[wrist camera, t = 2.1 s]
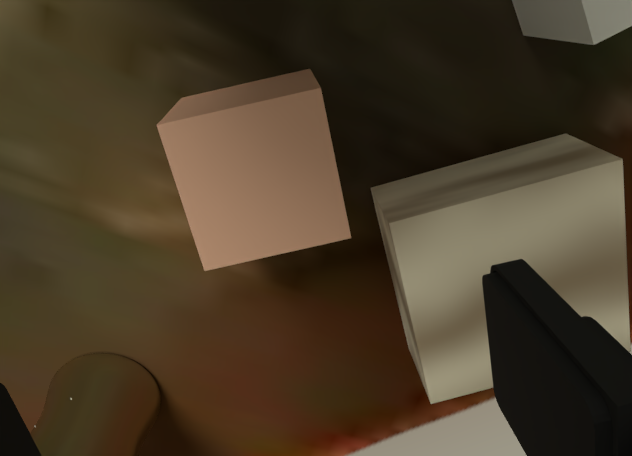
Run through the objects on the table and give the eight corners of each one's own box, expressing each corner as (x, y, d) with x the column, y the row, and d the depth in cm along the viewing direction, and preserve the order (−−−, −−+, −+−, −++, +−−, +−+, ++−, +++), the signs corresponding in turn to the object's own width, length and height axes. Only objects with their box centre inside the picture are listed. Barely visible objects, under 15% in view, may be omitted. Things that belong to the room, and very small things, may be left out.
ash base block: (369, 186, 28) (389, 223, 23) (563, 132, 27) (622, 158, 23) (407, 345, 31) (430, 404, 27) (577, 299, 31) (630, 351, 27)
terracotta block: (181, 97, 25) (156, 124, 19) (309, 68, 25) (320, 87, 19) (218, 216, 27) (204, 271, 22) (335, 189, 27) (351, 238, 22)
